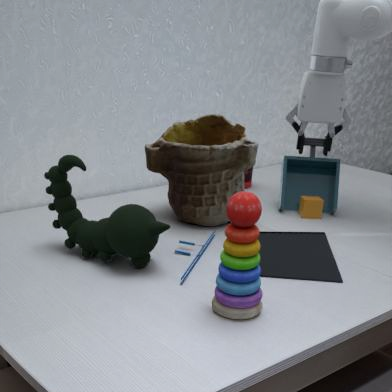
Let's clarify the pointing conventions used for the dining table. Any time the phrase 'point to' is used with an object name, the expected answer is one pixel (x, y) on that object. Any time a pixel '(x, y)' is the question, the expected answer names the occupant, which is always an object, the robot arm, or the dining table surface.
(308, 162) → the dish
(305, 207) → the block
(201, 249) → the chopsticks
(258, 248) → the stacking toy
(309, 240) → the mat
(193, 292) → the dining table surface
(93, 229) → the toy figurine
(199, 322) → the dining table surface
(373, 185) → the dining table surface
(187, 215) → the ceramic vessel
